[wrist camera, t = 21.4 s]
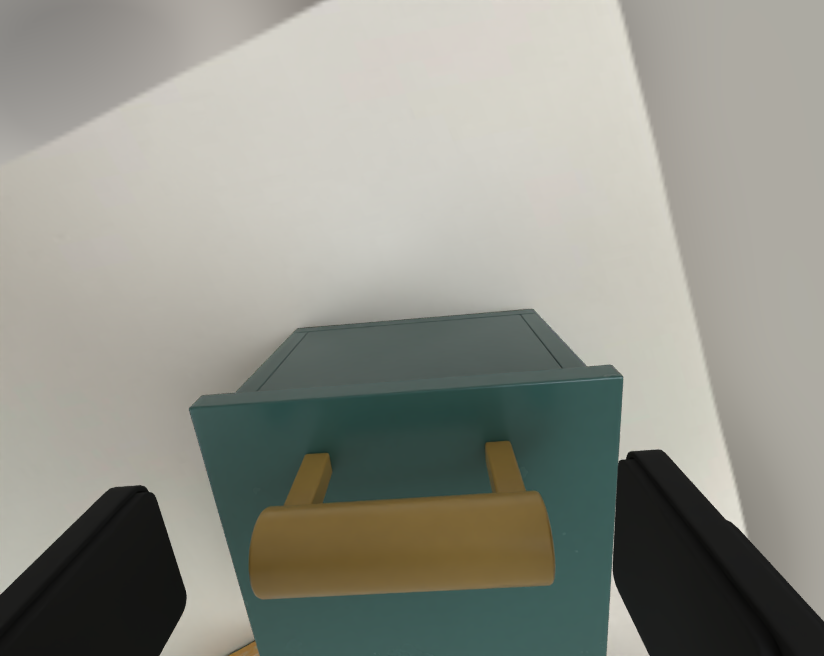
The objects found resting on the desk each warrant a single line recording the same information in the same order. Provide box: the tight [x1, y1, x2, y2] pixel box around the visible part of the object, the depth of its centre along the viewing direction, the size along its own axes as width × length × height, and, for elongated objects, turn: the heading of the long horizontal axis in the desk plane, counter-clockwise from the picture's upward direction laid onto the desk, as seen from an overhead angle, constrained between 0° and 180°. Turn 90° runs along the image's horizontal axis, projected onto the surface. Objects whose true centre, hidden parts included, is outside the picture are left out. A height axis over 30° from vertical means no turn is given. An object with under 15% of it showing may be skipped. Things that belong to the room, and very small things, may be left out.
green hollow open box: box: [235, 309, 587, 393], centre depth 20 cm, size 14×12×9 cm
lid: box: [189, 365, 623, 656], centre depth 13 cm, size 14×12×5 cm
